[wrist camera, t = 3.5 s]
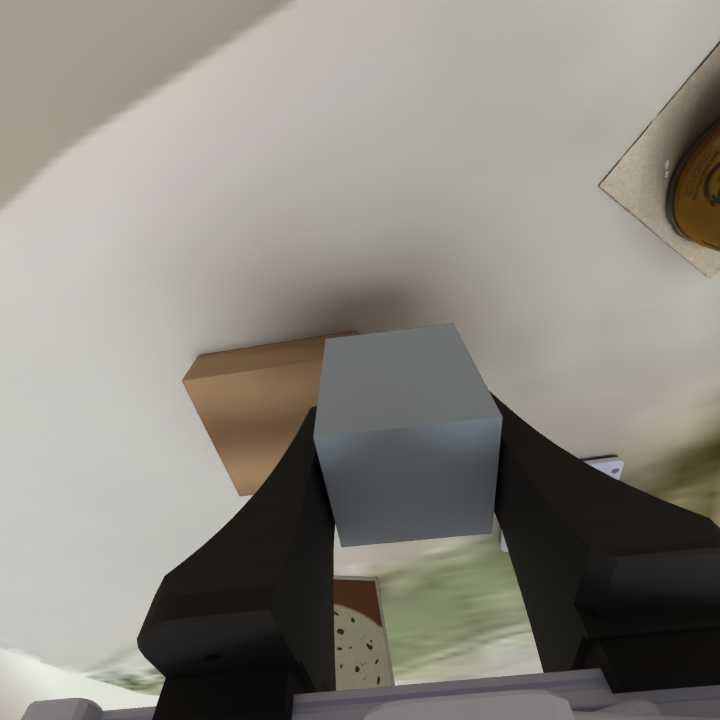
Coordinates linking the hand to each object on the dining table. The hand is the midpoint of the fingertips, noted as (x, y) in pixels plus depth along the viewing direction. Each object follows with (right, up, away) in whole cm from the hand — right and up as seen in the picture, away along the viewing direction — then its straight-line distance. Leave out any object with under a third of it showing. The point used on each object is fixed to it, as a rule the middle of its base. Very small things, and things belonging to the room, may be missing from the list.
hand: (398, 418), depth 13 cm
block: (0, +1, +1) cm, 2 cm away
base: (-5, -1, +10) cm, 12 cm away
